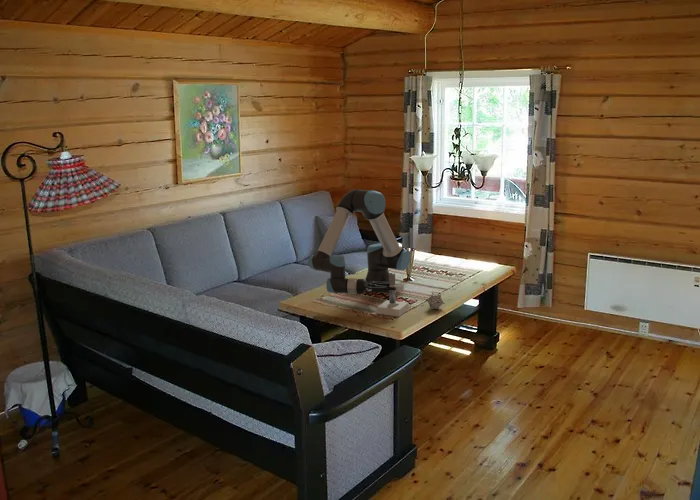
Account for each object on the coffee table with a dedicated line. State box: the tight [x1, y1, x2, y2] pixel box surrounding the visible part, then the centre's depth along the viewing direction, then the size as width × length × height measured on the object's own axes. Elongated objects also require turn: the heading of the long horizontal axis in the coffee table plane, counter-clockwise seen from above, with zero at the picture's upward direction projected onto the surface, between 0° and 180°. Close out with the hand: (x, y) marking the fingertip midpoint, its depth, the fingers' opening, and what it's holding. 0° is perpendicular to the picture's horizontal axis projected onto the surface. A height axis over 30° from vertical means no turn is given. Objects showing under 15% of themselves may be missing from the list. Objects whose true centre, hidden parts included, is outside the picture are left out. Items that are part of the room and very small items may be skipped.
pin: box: [388, 272, 397, 303], centre depth 340 cm, size 3×3×15 cm
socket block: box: [376, 300, 410, 317], centre depth 343 cm, size 12×12×4 cm
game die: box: [425, 292, 445, 311], centre depth 343 cm, size 9×8×10 cm
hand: (403, 287), depth 339 cm, fingers closed on pin, 3 cm apart
